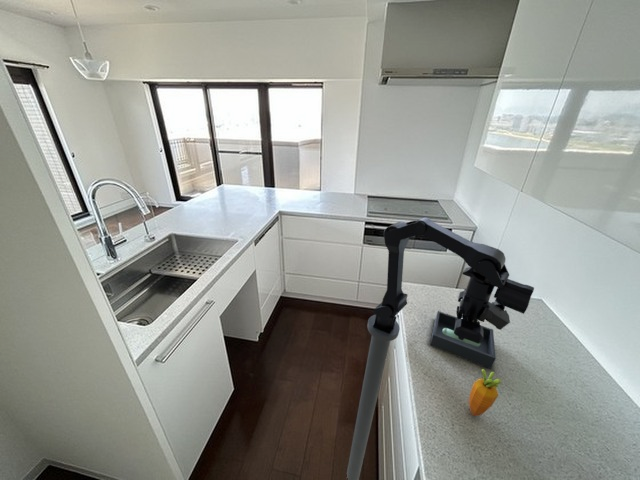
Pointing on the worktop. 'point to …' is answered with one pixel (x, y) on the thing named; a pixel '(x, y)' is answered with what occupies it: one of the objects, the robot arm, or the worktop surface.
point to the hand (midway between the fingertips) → (460, 336)
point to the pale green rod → (451, 334)
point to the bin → (462, 349)
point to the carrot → (483, 394)
